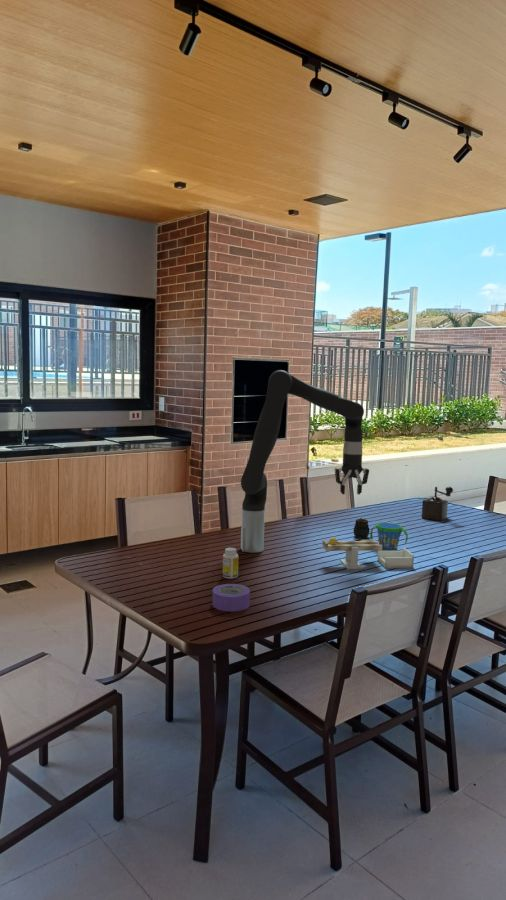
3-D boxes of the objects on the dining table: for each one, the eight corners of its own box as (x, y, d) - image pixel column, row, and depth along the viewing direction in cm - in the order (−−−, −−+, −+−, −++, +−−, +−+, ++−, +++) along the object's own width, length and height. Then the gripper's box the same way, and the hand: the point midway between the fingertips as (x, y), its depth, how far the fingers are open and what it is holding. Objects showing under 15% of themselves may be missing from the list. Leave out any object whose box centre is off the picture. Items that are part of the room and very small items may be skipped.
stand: (347, 569, 244) (348, 548, 243) (340, 560, 255) (341, 540, 254) (362, 568, 245) (363, 548, 244) (355, 560, 256) (355, 540, 255)
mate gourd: (368, 535, 297) (369, 514, 295) (369, 539, 289) (371, 518, 288) (352, 534, 297) (353, 513, 296) (353, 539, 290) (354, 517, 288)
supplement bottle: (237, 574, 234) (238, 546, 233) (238, 579, 229) (239, 551, 228) (222, 574, 234) (222, 546, 233) (222, 579, 228) (223, 551, 227)
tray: (385, 568, 246) (386, 555, 246) (377, 560, 256) (378, 548, 256) (413, 567, 248) (413, 555, 247) (404, 560, 257) (404, 548, 257)
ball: (330, 546, 246) (330, 538, 246) (328, 544, 249) (328, 536, 249) (338, 546, 247) (338, 538, 246) (336, 544, 250) (336, 536, 249)
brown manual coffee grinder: (420, 518, 336) (422, 484, 334) (428, 514, 345) (430, 481, 343) (449, 522, 327) (451, 487, 325) (457, 519, 336) (459, 485, 333)
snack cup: (409, 549, 275) (411, 525, 274) (402, 554, 266) (403, 530, 265) (374, 543, 282) (375, 520, 281) (366, 548, 273) (367, 525, 272)
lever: (325, 550, 245) (326, 543, 244) (319, 542, 257) (319, 535, 256) (382, 550, 247) (382, 543, 247) (372, 542, 259) (373, 535, 259)
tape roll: (240, 614, 196) (241, 598, 195) (206, 608, 200) (206, 592, 200) (255, 601, 207) (255, 586, 206) (221, 596, 211) (222, 581, 211)
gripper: (337, 453, 253) (335, 495, 255) (373, 453, 254) (371, 495, 256) (332, 451, 260) (331, 492, 262) (367, 451, 262) (365, 492, 264)
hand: (350, 493), depth 259 cm, fingers open, 5 cm apart
